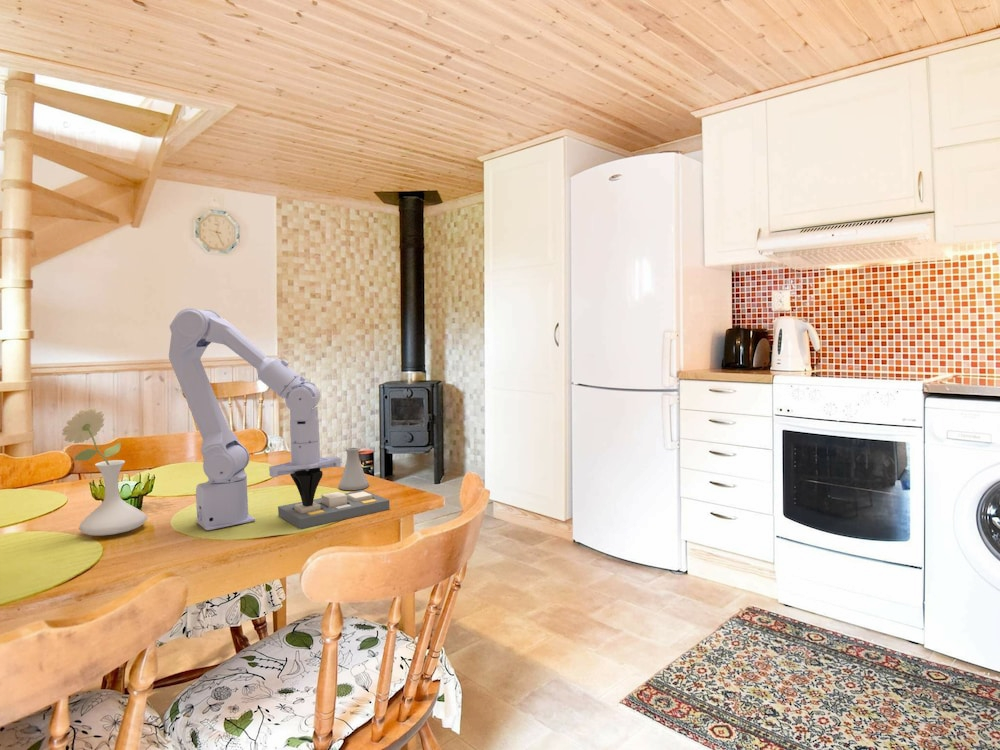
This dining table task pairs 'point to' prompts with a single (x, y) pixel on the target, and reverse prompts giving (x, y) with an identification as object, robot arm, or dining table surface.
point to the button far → (359, 496)
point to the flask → (353, 472)
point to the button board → (332, 511)
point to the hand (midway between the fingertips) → (307, 505)
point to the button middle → (334, 499)
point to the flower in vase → (113, 509)
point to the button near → (307, 508)
